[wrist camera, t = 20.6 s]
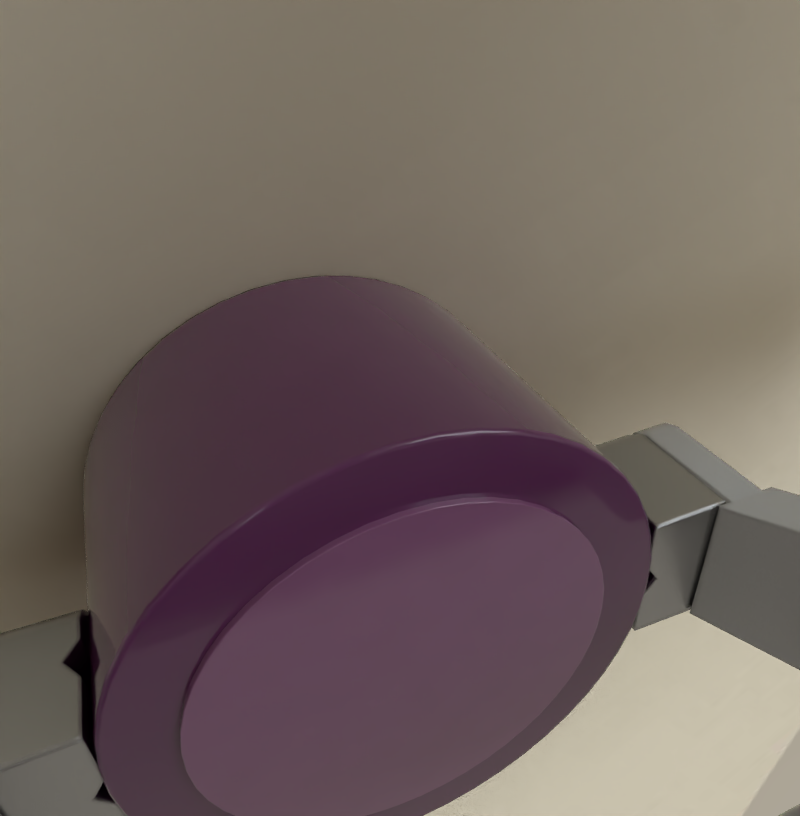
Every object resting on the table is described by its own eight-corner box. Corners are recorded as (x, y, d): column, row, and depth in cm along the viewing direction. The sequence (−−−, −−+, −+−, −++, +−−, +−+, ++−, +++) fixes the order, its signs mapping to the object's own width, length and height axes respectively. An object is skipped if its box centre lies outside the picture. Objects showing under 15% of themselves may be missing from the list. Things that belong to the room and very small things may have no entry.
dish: (8, 334, 7) (-25, 574, 5) (505, 234, 9) (706, 361, 6) (150, 675, 11) (182, 935, 8) (493, 555, 12) (620, 733, 10)
